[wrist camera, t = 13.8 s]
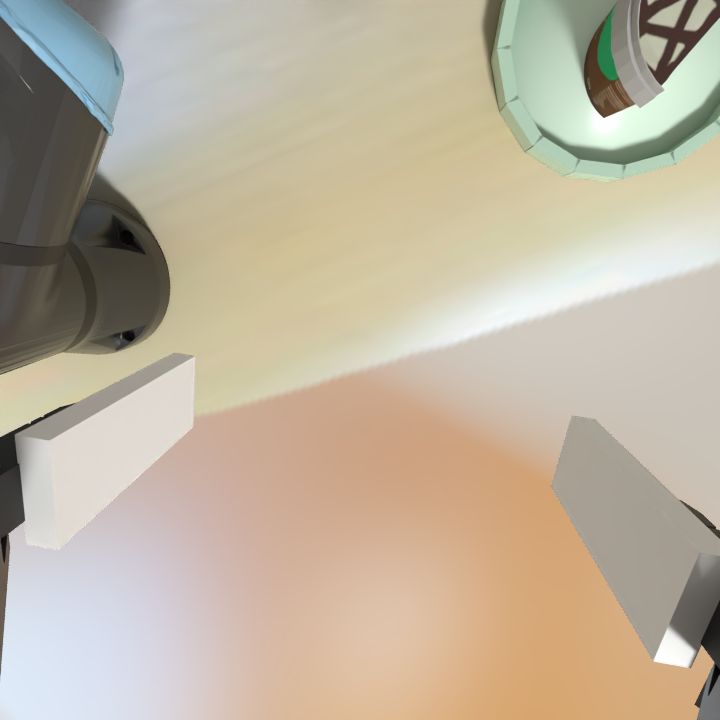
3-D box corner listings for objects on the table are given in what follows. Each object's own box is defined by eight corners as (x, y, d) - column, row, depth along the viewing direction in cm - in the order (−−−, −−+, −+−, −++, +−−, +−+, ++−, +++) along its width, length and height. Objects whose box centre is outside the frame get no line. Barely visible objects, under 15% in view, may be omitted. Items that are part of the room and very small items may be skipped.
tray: (471, 164, 39) (475, 159, 36) (525, -121, 33) (534, -149, 31) (703, 194, 38) (724, 191, 35) (801, -96, 32) (833, -122, 30)
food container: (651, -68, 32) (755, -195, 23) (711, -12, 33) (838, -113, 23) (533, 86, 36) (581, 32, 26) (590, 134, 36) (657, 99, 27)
